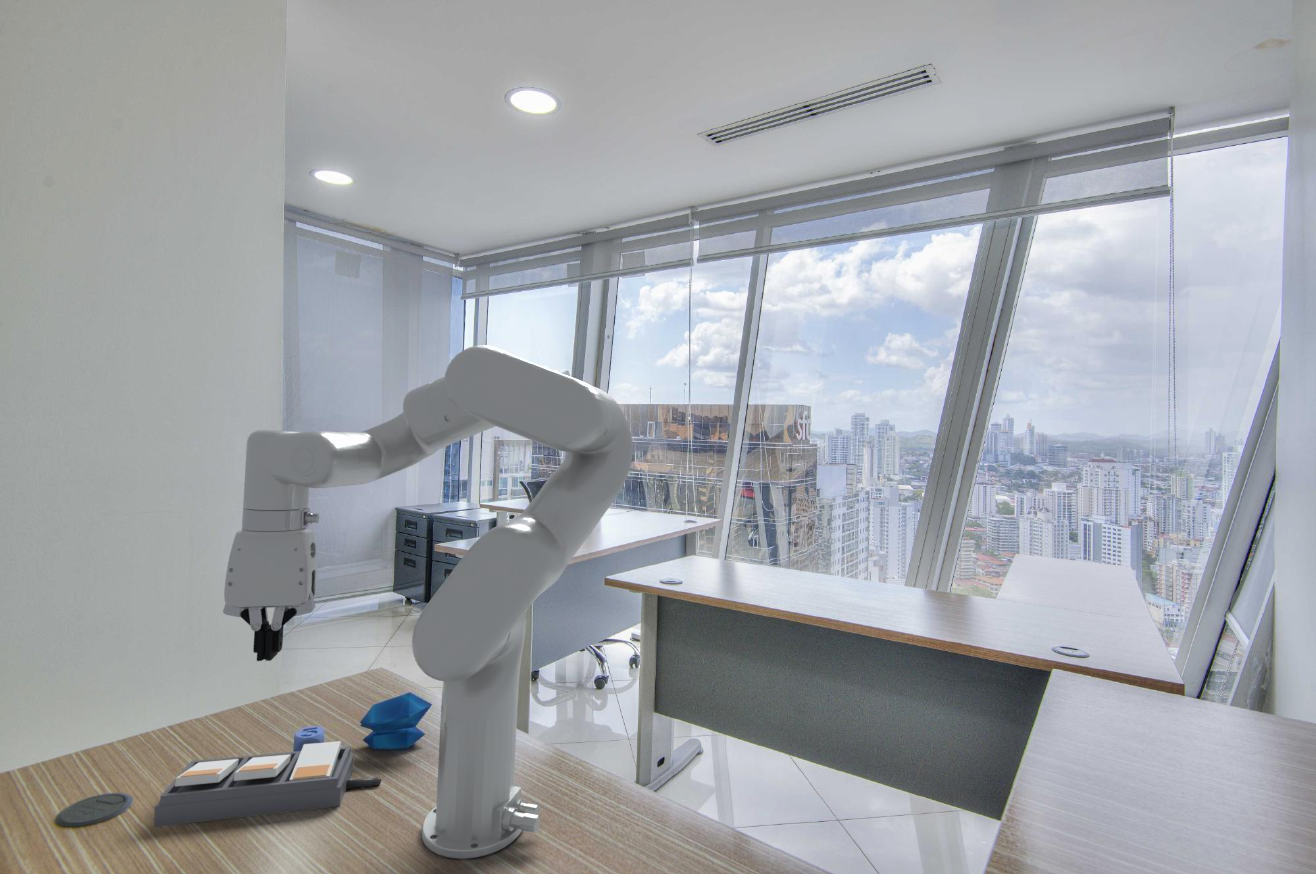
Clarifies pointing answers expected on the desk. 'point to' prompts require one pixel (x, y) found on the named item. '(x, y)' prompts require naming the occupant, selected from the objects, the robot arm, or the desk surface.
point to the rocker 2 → (316, 761)
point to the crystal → (395, 722)
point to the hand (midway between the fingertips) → (267, 657)
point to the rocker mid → (262, 767)
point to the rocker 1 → (207, 772)
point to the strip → (256, 793)
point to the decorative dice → (308, 737)
